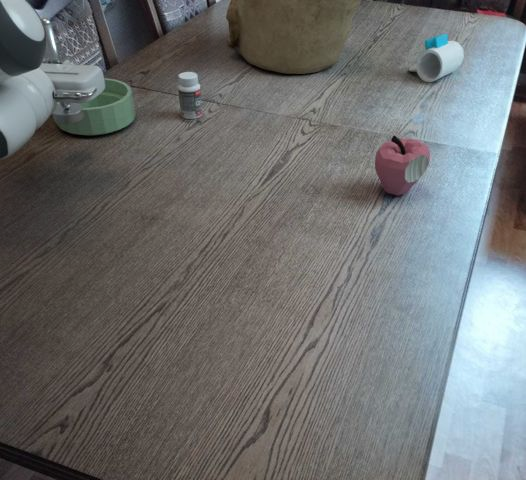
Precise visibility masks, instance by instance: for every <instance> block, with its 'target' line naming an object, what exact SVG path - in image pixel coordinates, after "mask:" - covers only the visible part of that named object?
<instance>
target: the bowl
mask: <svg viewBox="0 0 526 480" xmlns="http://www.w3.org/2000/svg"><path fill="white" fill-rule="evenodd" d="M104 80H105V89H104V91H103V92H102V93H101V94H99V95H98V96H97V97H96V98H94V99H93V100H91V101H89V102H86V103H78V104H80V105H81V106H82V108H83V112H84V118H83V119H82V120H80V121H78V122H75V123H68V124H62V123H57V122H55V124H56V126H57V127H58V128H59V129H60V130H62V131H64V132H66V133H69V134H73V135H79V136H101V135H107V134H111V133H114V132H117V131H119V130H121V129H123V128H126V127H128V126H129V125H130V124H131V123H132V122H134V120H135V118H136V109H135V103H134V98H133V97H134V96H133V91H132V87H131V86H130V85H129V84H127V82H124V81H121V80H118V79H114V78H107V77H104ZM58 104H60V102H57V105H58Z"/></svg>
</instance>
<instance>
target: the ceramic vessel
mask: <svg viewBox="0 0 526 480" xmlns="http://www.w3.org/2000/svg"><path fill="white" fill-rule="evenodd" d="M362 1H363V0H230V2H229V5H228V7H227V10H226V15H225V19H226V21H227V23H228V33H229V34H228V37H227V39H226V44H227V47H228V48H229V49H235V48H236V51H237V52H238V53H239V54H240V55H241V56H242V57H243V59H244V60H245V61H246V62H247V63H249V64H250V65H253V66H255V67H257V68H259V69H263V70H267V71H272V72H275V73H280V74H286V75H287V74H288V75H290V74H291V75H292V74H293V75H295V74H296V75H301V74H302V75H305V74H312V73H313V74H314V73H318V72H322V71H325V70H327V69H329V68H331V67H333V66H334V65H335V64H336V63H337V62H338V60H339V58H340V57H341V55H342V52H343V50H344V47H345V44H346V42H347V39H348V37H349V34H350V31H351V25H352V22H353V18H354V16H355V14H356V12H357V10H358V8H359V7H360V4H361V3H362Z"/></svg>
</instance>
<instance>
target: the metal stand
mask: <svg viewBox="0 0 526 480" xmlns="http://www.w3.org/2000/svg"><path fill="white" fill-rule="evenodd" d="M41 20H42V22H43V24H44V27H45V31H46V49H45V50H46V53H47V57H48V59H49V61H50V64H58V62H59V61H60V60H61V57H60V53H59V49H58V45H57V40H56V35H55V34H54V33H55V32H54V29H53V25H52V21H51V19H49V18H48V17H42V18H41ZM51 116H52V120H53V121H54V122H55V123H56V122H57V123H62V124H68V123H75V122H78V121H80V120H82V119H83V118H84V112H83V108H82V106H81V105H80V104H78V103H67V102H60V104H58V105H57V106H56V109H55V111H54V112H53V113H52V115H51Z"/></svg>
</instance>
